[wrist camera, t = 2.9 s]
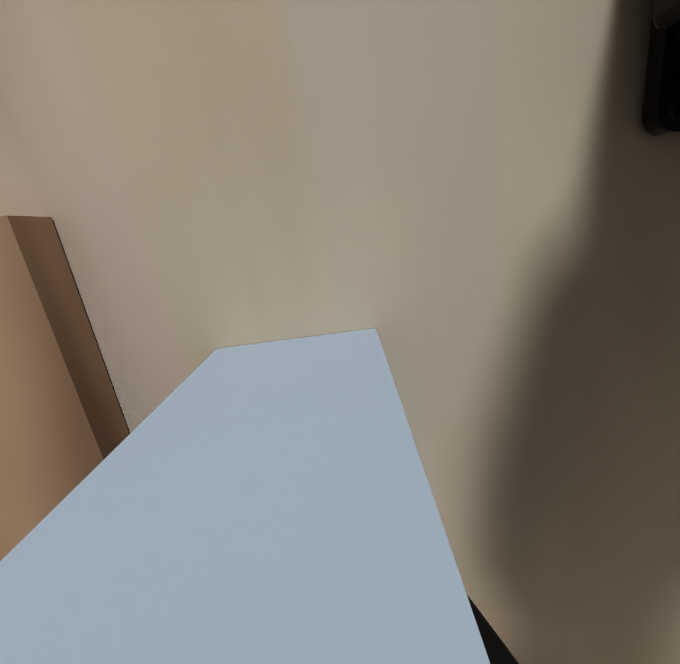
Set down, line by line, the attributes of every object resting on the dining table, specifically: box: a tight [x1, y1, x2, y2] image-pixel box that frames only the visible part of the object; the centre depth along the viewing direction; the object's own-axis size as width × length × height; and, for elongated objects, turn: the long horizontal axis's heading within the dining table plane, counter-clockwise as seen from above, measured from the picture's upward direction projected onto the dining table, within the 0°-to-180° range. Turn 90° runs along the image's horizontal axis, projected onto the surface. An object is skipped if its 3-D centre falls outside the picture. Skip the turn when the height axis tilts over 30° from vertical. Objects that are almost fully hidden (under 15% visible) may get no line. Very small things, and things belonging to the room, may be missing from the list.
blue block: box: [0, 328, 490, 664], centre depth 7 cm, size 4×10×9 cm, turn 8°
